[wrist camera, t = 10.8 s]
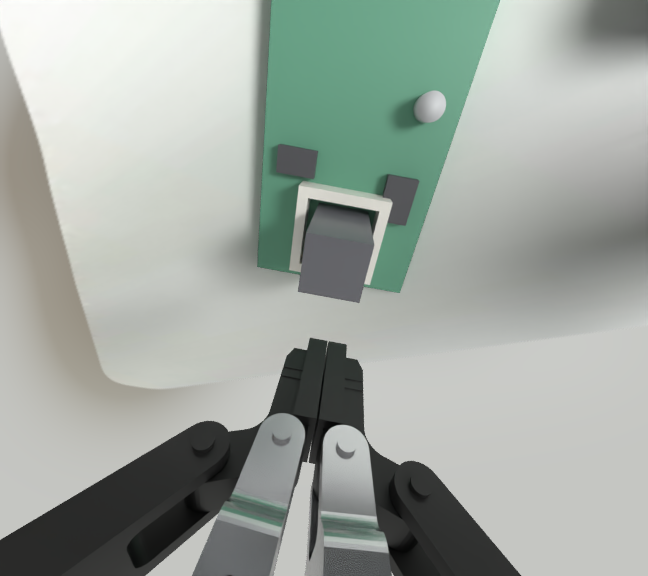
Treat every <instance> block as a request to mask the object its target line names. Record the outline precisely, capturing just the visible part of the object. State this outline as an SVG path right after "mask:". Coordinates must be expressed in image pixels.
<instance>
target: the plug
mask: <svg viewBox="0 0 648 576" xmlns="http://www.w3.org/2000/svg"><path fill="white" fill-rule="evenodd" d="M373 249H374V240H373V235H372V230H371V225H370V219H369V214H368V211H362V210H357V209H352V208H346V207H341V206H336V205H330V204H325V203H320V202H319V204H318V206H317V209H316V211H315V213H314V216H313V218H312V220H311V222H310V225H309V227H308V229H307V232H306V237H305V244H304V252H303V259H302V266H301V273H300V281H299V288H298V292H303V293H309V294H314V295H319V296H325V297H330V298H336V299H341V300H346V301H352V302H357V303H359V301H360V298H361V294H362V290H363V286H364V283H365V279H366V275H367V271H368V268H369V264H370V260H371V256H372V253H373Z"/></svg>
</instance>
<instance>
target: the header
mask: <svg viewBox="0 0 648 576" xmlns="http://www.w3.org/2000/svg"><path fill="white" fill-rule="evenodd" d="M310 199H315V200H321V201H326V202H331V203H337V204H342V205H348V206H353V207H358V208H364V209H369V210H374V211H376V212H375V216H374V220H373V224H372V228H371V230H372V235H373V240H374V249H373V253H372V256H371V260H370V264H369V268H368V271H367V275H366V279H365V283H364V284H367V285H370V283H371V279H372V276H373V272H374V268H375V265H376V261H377V258H378V254H379V250H380V247H381V243H382V240H383V236H384V233H385V229H386V225H387V222H388V218H389V215H390V211H391V207H392V204H393V203H392V201H391V199H388V198H383V196H382V195H377V194H371V193H366V192H361V191H355V190H350V189H345V188H339V187H334V186H329V185H323V184H318V183H313V182H307V181H302V183H301V184H300V185H299V189H298V197H297V206H296V215H295V223H294V232H293V241H292V250H291V258H290V267H289V270H291V271H297V272H301V266H302V259H303V250H304V243H305V235H306V228H307V221H308V213H309V206H310Z"/></svg>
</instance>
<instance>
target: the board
mask: <svg viewBox="0 0 648 576" xmlns="http://www.w3.org/2000/svg"><path fill="white" fill-rule="evenodd" d="M499 2H500V0H271V19H270V37H269V56H268V75H267V94H266V113H265V131H264V150H263V169H262V188H261V207H260V226H259V244H258V263H257V267H261V268H267V269H272V270H278V271H283V272H289V273H294V274H299V275H300V273H301V272H297V271H291V270H289V267H290V258H291V250H292V241H293V232H294V223H295V215H296V206H297V197H298V189H299V185H300V184H301V183H302V181H307V182H313V183H318V184H323V185H329V186H334V187H339V188H345V189H350V190H355V191H361V192H366V193H371V194H377V195H382V196H383V198H388V199H391V201H392V203H393V204H392V207H391V211H390V215H389V218H388V222H387V225H386V229H385V233H384V236H383V240H382V243H381V247H380V250H379V254H378V258H377V261H376V265H375V268H374V272H373V276H372V279H371V283H370V285H367V284H364V287H370V288H375V289H380V290H386V291H391V292H397V293H400V290H401V287H402V285H403V282H404V279H405V276H406V273H407V270H408V267H409V264H410V261H411V258H412V255H413V253H414V250H415V247H416V244H417V241H418V238H419V235H420V232H421V229H422V226H423V223H424V221H425V218H426V215H427V212H428V209H429V206H430V203H431V200H432V197H433V194H434V191H435V188H436V186H437V183H438V180H439V177H440V174H441V171H442V168H443V165H444V162H445V159H446V156H447V154H448V151H449V148H450V145H451V142H452V139H453V136H454V133H455V130H456V127H457V124H458V122H459V119H460V116H461V113H462V110H463V107H464V104H465V101H466V98H467V95H468V92H469V89H470V87H471V84H472V81H473V78H474V75H475V72H476V69H477V66H478V63H479V60H480V57H481V55H482V52H483V49H484V46H485V43H486V40H487V37H488V34H489V31H490V28H491V25H492V23H493V20H494V17H495V14H496V11H497V8H498V5H499ZM319 202H320V203H325V204H330V205H336V206H341V207H346V208H352V209H357V210H362V211H368V214H369V219H370V225H371V228H372V224H373V220H374V216H375V212H376V211H374V210H369V209H364V208H358V207H353V206H348V205H342V204H337V203H331V202H326V201H321V200H315V199H310V206H309V213H308V221H307V228H306V232H307V229H308V227H309V225H310V222H311V220H312V218H313V216H314V213H315V211H316V209H317V206H318V204H319ZM305 237H306V235H305ZM304 244H305V243H304ZM303 252H304V250H303Z"/></svg>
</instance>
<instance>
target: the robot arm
mask: <svg viewBox="0 0 648 576" xmlns="http://www.w3.org/2000/svg"><path fill="white" fill-rule="evenodd" d="M346 347H347V346H346V344H341V343H335V342H330V341H329V343H328V347H327V341H324V340H319V339H314V338H310V340H309V345H308V349H307V350H302V349H297V348H294V349H293V350H292V351H291V352H290V353H289V354H288V355H287V357H286V360H285V364H284V367H283V370H282V373H281V377H280V380H279V383H278V386H277V389H276V393H275V396H274V399H273V402H272V406H271V409H270V412H269V414H268V416H267V417H266V418H265V419H264V421H262V422H261V423H260V424H258V425H257V426H255V427H253V428H250V429H245V430H239V431H231V432H228V430H227V429H226V428H225V427H224V426H223V425H222V424H220V423H218V422H214V421H204V422H200V423H197V424H195V425H193V426H191V427H190V428H188V429H186V430H185V431H183V432H181V433H179V434H178V435H176V436H174V437H173V438H171V439H169V440H168V441H166V442H164V443H163V444H161V445H160V446H158V447H156V448H154V449H153V450H151V451H149V452H148V453H146V454H144V455H142V456H141V457H139V458H137V459H136V460H134V461H132V462H131V463H129V464H127V465H126V466H124V467H122V468H121V469H119V470H117V471H116V472H114V473H113V474H111V475H109V476H107V477H106V478H104V479H102V480H100V481H99V482H97V483H95V484H94V485H92V486H91V487H89V488H87V489H86V490H84V491H82V492H80V493H78V494H77V495H75V496H73V497H72V498H70V499H69V500H67V501H65V502H63V503H62V504H60V505H58V506H57V507H55V508H53V509H52V510H50V511H48V512H47V513H45V514H43V515H42V516H40V517H38V518H37V519H35V520H33V521H32V522H30V523H28V524H26V525H25V526H23V527H21V528H20V529H18V530H16V531H15V532H13V533H11V534H9V535H8V536H6V537H5V538H3V539H1V540H0V576H145V575H146V574H148V573H149V572H150V571H151V570H152V569H153V568H155V567H156V566H157V565H158V564H159V563H160V562H162V561H163V560H164V559H165V558H166V557H167V556H169V555H170V554H171V553H172V552H173V551H175V550H176V549H177V548H178V547H179V546H180V545H182V544H183V543H184V542H185V541H186V540H187V539H189V538H190V537H191V536H192V535H193V534H194V533H196V532H197V531H198V530H199V529H200V528H201V527H203V526H204V525H205V524H206V523H207V522H208V521H210V520H211V519H212V518H213V517H214V516H215V515H217V514H218V513H219V514H218V516H217V518H216V521H215V523H214V525H213V528H212V531H211V532H210V535H209V537H208V540H207V542H206V544H205V547H204V549H203V551H202V554H201V556H200V558H199V561H198V563H197V565H196V567H195V570H194V572H193V575H192V576H273V575H274V571H275V566H276V562H277V558H278V554H279V550H280V546H281V541H282V537H283V533H284V529H285V525H286V521H287V517H288V513H289V509H290V504H291V501H292V497H293V492H294V488H295V486H296V485H297V482H298V479H299V475H300V470H301V465H302V462H307V459H308V454H309V451H310V446H311V451H310V458H309V463H313V464H315V470H314V478H313V482H312V486H311V495H310V512H309V528H308V545H307V560H306V571H305V576H392V574H391V571H392V573H393V575H394V576H521V575H520V574H519V573H518V571H517V570H516V569H515V568H514V567H513V565H511V563H510V562H509V561H508V560H507V558H506V557H505V556H504V555H503V554H502V552H501V551H500V550H499V549H498V548H497V547H496V545H495V544H494V543H493V542H492V541H491V540H490V538H489V537H488V536H487V535H486V533H485V532H484V531H483V530H482V529H481V528H480V526H479V525H478V524H477V523H476V522H475V520H473V518H472V517H471V516H470V515H469V513H468V512H467V511H466V510H465V509H464V507H463V506H462V505H461V504H460V503H459V502H458V500H457V499H456V498H455V497H454V496H453V494H452V493H451V492H450V491H449V490H448V488H447V487H446V486H445V485H444V484H443V483H442V481H441V480H440V479H439V478H438V477H437V476H436V475H435V473H434V472H433V471H432V470H431V469H429V468H428V467H427V466H425V465H424V464H421V463H419V462H415V461H407V462H404V463H402V464H401V465H398V464H396V463H394V462H392V461H391V460H389V459H387V458H385V457H383V456H382V455H380V454H379V453H378V452H376V451H375V450H374V449H373V448H372V446H371V445H370V444H369V442H368V440H367V438H366V436H365V432H364V409H363V408H364V407H363V370H362V368H361V366H360V364H359V362H358V360H355V359H350V358H346ZM326 348H327V352H326ZM311 442H312V444H311Z"/></svg>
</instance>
